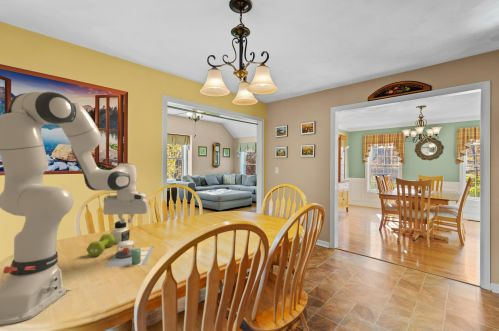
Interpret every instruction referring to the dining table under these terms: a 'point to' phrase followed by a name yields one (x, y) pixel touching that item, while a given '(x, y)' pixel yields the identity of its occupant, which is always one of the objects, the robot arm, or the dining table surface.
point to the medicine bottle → (120, 232)
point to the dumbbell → (100, 245)
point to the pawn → (136, 256)
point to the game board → (129, 257)
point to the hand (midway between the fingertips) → (126, 222)
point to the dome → (125, 244)
